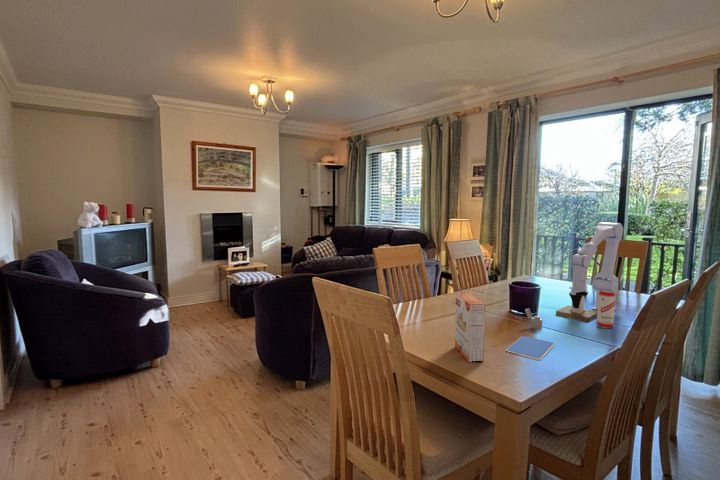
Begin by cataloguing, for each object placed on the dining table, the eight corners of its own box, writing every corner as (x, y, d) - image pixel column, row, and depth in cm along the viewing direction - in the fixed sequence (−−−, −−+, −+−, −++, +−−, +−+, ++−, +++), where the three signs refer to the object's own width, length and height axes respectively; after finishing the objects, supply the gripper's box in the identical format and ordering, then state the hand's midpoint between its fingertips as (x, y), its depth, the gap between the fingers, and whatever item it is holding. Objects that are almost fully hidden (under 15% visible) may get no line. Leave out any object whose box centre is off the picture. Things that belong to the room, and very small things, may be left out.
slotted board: (567, 309, 190) (567, 305, 190) (598, 315, 180) (599, 311, 180) (555, 314, 182) (556, 310, 181) (587, 321, 171) (588, 317, 171)
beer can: (615, 329, 161) (618, 293, 159) (599, 328, 162) (602, 292, 161) (609, 324, 167) (611, 289, 166) (593, 323, 169) (596, 288, 167)
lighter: (542, 329, 162) (543, 311, 161) (540, 330, 161) (541, 311, 160) (525, 324, 167) (526, 307, 166) (523, 325, 166) (524, 308, 165)
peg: (574, 310, 183) (575, 294, 182) (583, 312, 180) (584, 295, 179) (571, 311, 181) (572, 295, 180) (580, 313, 178) (581, 297, 177)
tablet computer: (540, 362, 130) (540, 358, 130) (504, 352, 139) (504, 349, 139) (555, 346, 145) (555, 342, 145) (521, 338, 153) (522, 335, 153)
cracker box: (453, 347, 143) (455, 293, 140) (469, 346, 143) (470, 293, 141) (467, 363, 129) (468, 303, 127) (484, 362, 129) (486, 303, 127)
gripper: (576, 275, 186) (574, 302, 188) (564, 280, 177) (562, 308, 179) (592, 278, 181) (590, 305, 183) (580, 282, 172) (578, 311, 173)
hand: (577, 307), depth 180 cm, fingers closed on peg, 4 cm apart
